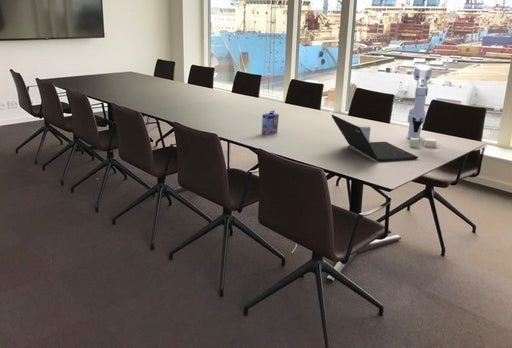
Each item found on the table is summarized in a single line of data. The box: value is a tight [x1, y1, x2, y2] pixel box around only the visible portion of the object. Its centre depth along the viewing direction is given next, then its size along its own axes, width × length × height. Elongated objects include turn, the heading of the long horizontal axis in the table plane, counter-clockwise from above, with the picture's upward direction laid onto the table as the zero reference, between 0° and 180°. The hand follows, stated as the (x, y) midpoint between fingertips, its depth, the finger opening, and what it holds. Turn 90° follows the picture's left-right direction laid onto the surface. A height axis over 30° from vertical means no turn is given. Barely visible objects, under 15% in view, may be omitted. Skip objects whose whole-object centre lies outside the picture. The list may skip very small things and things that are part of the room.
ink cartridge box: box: [261, 110, 280, 136], centre depth 295 cm, size 10×6×14 cm, turn 137°
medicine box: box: [357, 125, 371, 142], centre depth 287 cm, size 8×4×9 cm, turn 92°
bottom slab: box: [422, 142, 437, 149], centre depth 281 cm, size 7×7×2 cm
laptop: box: [331, 114, 419, 162], centre depth 260 cm, size 33×38×19 cm
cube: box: [409, 138, 420, 148], centre depth 278 cm, size 4×4×4 cm
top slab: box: [422, 137, 437, 146], centre depth 280 cm, size 6×6×2 cm
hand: (415, 130), depth 276 cm, fingers open, 7 cm apart
